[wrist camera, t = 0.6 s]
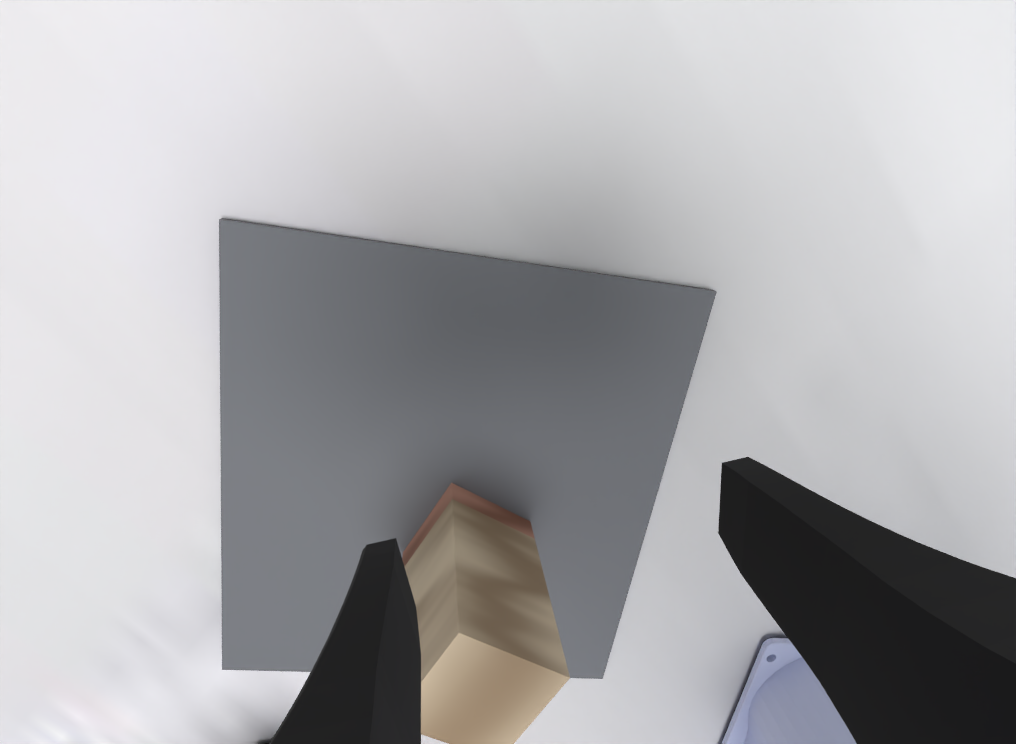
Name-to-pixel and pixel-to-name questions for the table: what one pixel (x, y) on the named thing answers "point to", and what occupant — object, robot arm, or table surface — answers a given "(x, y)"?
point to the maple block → (481, 622)
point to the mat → (434, 422)
